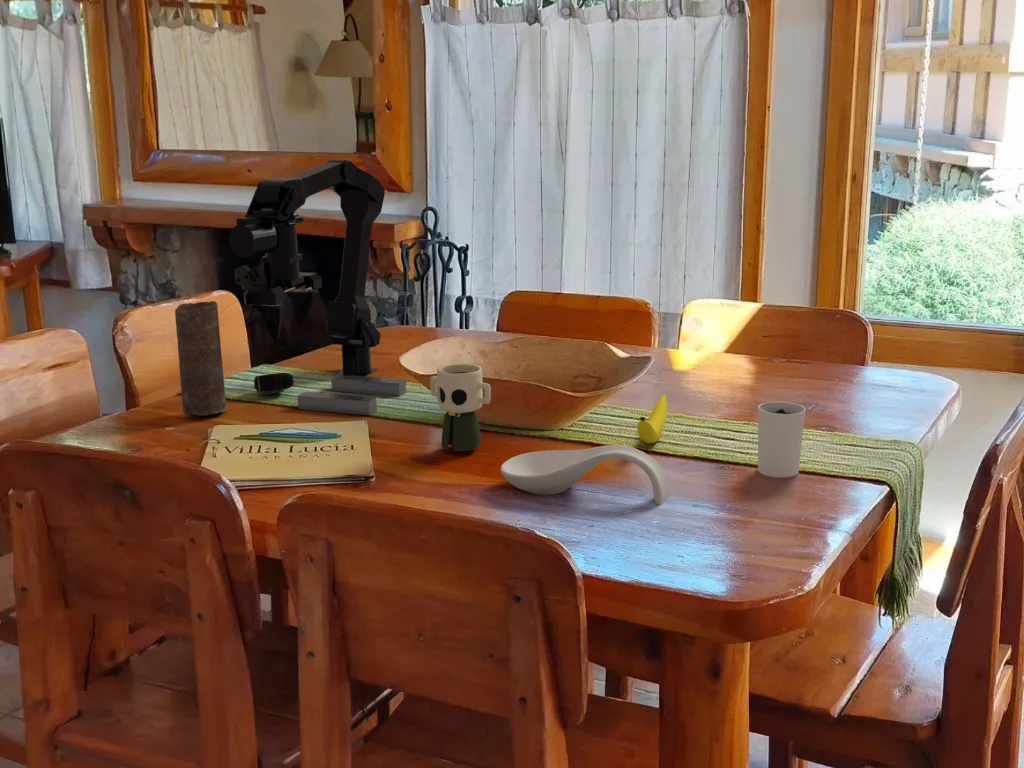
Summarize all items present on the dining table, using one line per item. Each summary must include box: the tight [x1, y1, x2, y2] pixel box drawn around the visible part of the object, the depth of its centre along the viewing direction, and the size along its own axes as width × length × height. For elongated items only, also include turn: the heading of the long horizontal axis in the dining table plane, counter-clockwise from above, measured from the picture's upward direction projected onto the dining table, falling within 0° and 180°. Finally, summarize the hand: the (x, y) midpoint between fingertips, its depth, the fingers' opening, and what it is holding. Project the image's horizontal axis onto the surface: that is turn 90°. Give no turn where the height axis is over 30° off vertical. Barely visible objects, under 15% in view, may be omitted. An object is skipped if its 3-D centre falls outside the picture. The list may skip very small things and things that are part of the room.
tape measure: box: [253, 372, 295, 396], centre depth 203 cm, size 7×7×4 cm
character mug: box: [429, 363, 492, 452], centre depth 169 cm, size 11×7×13 cm, turn 61°
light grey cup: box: [757, 401, 806, 479], centre depth 157 cm, size 7×7×10 cm
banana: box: [636, 394, 668, 445], centre depth 174 cm, size 3×19×6 cm, turn 162°
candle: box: [174, 300, 227, 417], centre depth 188 cm, size 8×7×20 cm
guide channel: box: [297, 375, 407, 416], centre depth 199 cm, size 16×14×2 cm
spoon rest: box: [500, 444, 670, 506], centre depth 151 cm, size 24×12×7 cm, turn 70°
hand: (287, 334), depth 200 cm, fingers open, 9 cm apart
